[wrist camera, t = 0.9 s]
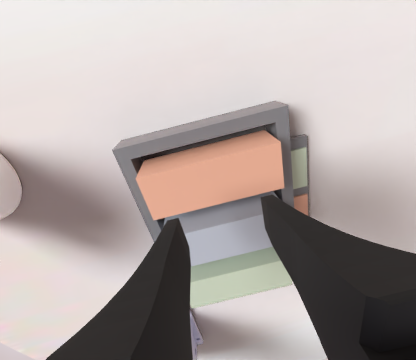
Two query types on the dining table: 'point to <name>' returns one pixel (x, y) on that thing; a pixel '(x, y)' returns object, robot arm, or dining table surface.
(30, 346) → the dining table surface
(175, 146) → the keypad frame
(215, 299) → the key sage
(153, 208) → the key terracotta
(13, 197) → the mug
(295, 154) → the strip
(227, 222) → the key slate
